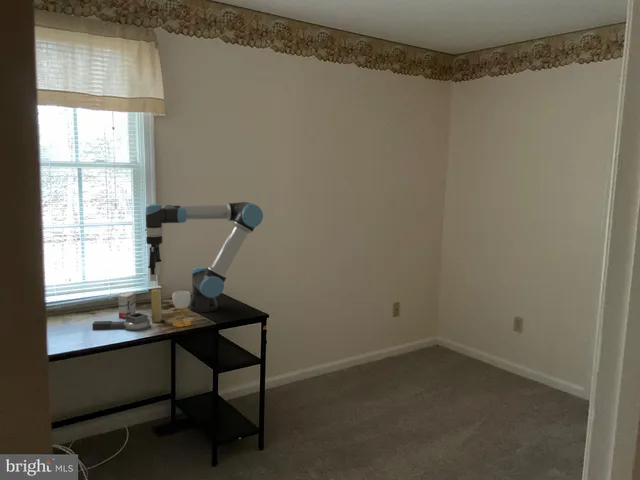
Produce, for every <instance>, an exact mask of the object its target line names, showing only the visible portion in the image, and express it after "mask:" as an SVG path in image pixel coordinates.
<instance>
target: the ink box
mask: <svg viewBox="0 0 640 480" xmlns="http://www.w3.org/2000/svg"><path fill="white" fill-rule="evenodd" d="M117 298H118V299H117V300H118V318H119V319H126V315H130V314H134V313H137V311H136V310H137V309H136V292H132V291H131V292H129V291H126V292H124V293H121V294H119V295H118V297H117Z"/></svg>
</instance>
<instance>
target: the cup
mask: <svg viewBox="0 0 640 480" xmlns="http://www.w3.org/2000/svg"><path fill="white" fill-rule="evenodd" d="M191 298H192V294H191V291H187V290H177V291H174V292H172V295H171V299H172V303H173V305H174V307H175V309H176V310H177V311H180V321H175V322H173V323H172V326H174V327H176V328H184V327H183V326H186V327H189V326H191V325H192V322H190V321H187V320H183V319H184V318H183V313H184V312H183V311H184V310H187V308H189V304H190V301H191Z"/></svg>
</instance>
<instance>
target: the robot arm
mask: <svg viewBox="0 0 640 480" xmlns="http://www.w3.org/2000/svg"><path fill="white" fill-rule="evenodd" d="M263 213H264V212H263V210H262V209H261V207H260V206H258V205H257V204H255V203H250V202H247V201H240V202H228V203H226V204H214V205H213V204H211V205H209V204H208V205H207V204H202V205H200V204H199V205H197V204H196V205H194V204H193V205H188V204H187V205H181V204H180V205H172V204H165V205H164V206H162V204H159V203H157V204H156V203H149V204H147V205H145V229H144V231H145V232H146V236H145V239H146V241H145V242H146V244H147V245H150V247H149V263H148V266H147V268H148V269H149V279H150V280H149V281H150V282H156V281H157V276H160V275H161V262H162V259H161V253H160V244H162V243H163V236H162V235H163V224H182V223H183V224H184V223H186V222H187V220H192V221H193V220H226V221H228V222H230V221H232V224H233V226H232V228H231V230H230V231H229V233H228V235H227V237H226V239H225V241H224V242H223V244H222V246H221V248H220V250H219V251H218V253H217V254H216V256H215V258H214V260H213V262H212V264H211V265H209V266H201V267H200V266H199V267H198V266H197V267H194V268H192V271H191V276H192V277H191V281H192V286H191V288H192V289H191V290H192V291H191V292H192V294H191V300H190V304H189V306H188V308H189V310H190V311H191V312H197V313H207V312H213V311H216V310H217V309H218V302H217V301H218V300H217V297H219V296H220V295H221V294H222V293H223V290H224V288H225V284H224V283H225V282H226V280H227V278H228V277H227V272H228V271H229V269H230V267H231V265H232V263H233V261H234V260H235V258H236V256H237V254H238V252H239V250H241V248H242V245H243V244H244V242H245V240H246V238H248V237H247V236H248V235H249V234H251V233H253V232H254V230H255V228H257V227H258V226H260V225H261V224H262V222H263V219H264V214H263Z"/></svg>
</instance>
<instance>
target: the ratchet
mask: <svg viewBox="0 0 640 480" xmlns="http://www.w3.org/2000/svg"><path fill="white" fill-rule="evenodd" d="M148 316H149V315H148V314H146V313H143V312H140V311H139V312H136V313H134V314H130V315H126V318H125V320H123V321H121V320H120V321H118V320H117V321H113V320H98V321H97V320H95V321H93V322H92V325H91V326H92V331H95V330H96V331H97V330H99V331H100V330H101V331H102V330H103V331H104V330H124V331H127V332H141V331H146V330H147V329H149V328H150V327H151V320H150V319H149V318H148Z"/></svg>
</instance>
